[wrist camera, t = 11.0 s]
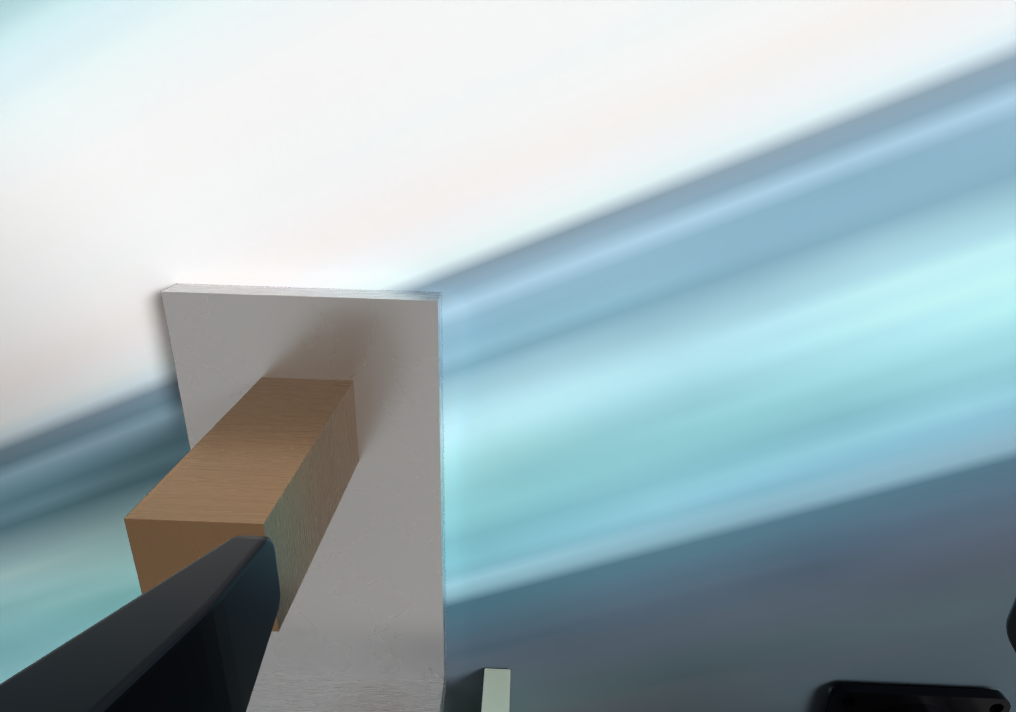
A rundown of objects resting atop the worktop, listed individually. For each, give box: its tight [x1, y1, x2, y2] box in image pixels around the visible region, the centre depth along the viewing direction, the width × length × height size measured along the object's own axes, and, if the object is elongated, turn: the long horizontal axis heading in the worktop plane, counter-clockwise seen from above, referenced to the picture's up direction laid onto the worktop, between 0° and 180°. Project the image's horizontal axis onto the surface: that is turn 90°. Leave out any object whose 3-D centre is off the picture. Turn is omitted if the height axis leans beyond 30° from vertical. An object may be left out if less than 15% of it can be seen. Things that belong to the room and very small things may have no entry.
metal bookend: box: [124, 283, 447, 712], centre depth 18 cm, size 16×8×8 cm, turn 178°
